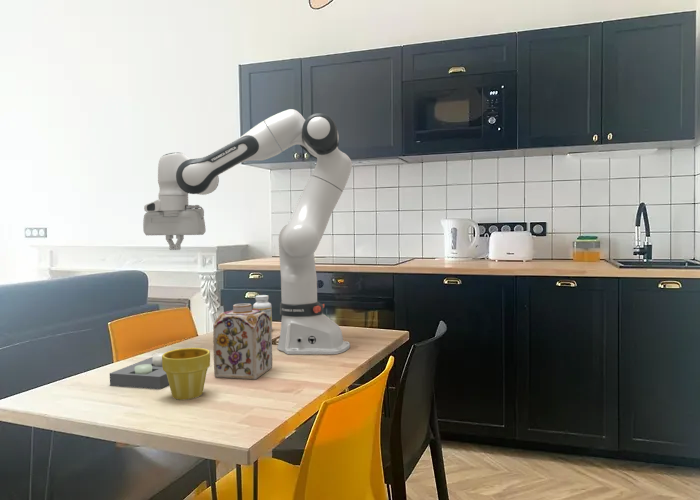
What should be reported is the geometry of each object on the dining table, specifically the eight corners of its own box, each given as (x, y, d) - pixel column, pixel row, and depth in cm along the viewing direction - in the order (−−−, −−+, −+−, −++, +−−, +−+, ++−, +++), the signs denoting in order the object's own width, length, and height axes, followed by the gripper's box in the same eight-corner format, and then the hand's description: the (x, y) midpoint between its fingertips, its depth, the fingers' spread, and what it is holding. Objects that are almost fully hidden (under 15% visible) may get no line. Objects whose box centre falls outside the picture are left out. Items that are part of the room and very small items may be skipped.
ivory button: (172, 364, 141) (171, 352, 141) (163, 368, 137) (162, 356, 137) (159, 363, 142) (158, 352, 142) (149, 367, 138) (149, 355, 138)
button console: (207, 366, 148) (206, 355, 148) (160, 389, 128) (159, 376, 128) (162, 363, 152) (162, 353, 152) (110, 385, 132) (109, 373, 131)
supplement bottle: (254, 329, 199) (253, 294, 199) (272, 329, 200) (272, 294, 199) (252, 333, 193) (251, 297, 192) (271, 332, 193) (270, 296, 192)
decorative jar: (256, 380, 134) (254, 308, 133) (212, 378, 137) (210, 307, 136) (273, 367, 145) (272, 301, 145) (233, 366, 148) (231, 300, 147)
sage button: (155, 376, 134) (155, 364, 134) (145, 381, 130) (145, 368, 130) (142, 375, 135) (141, 363, 135) (131, 380, 132) (131, 367, 131)
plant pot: (197, 404, 117) (196, 359, 116) (154, 401, 119) (152, 357, 118) (218, 389, 127) (217, 348, 126) (178, 387, 129) (177, 346, 129)
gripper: (208, 205, 169) (210, 249, 170) (152, 206, 175) (153, 249, 175) (197, 204, 163) (199, 250, 164) (139, 206, 169) (140, 250, 169)
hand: (175, 250), depth 170 cm, fingers closed
